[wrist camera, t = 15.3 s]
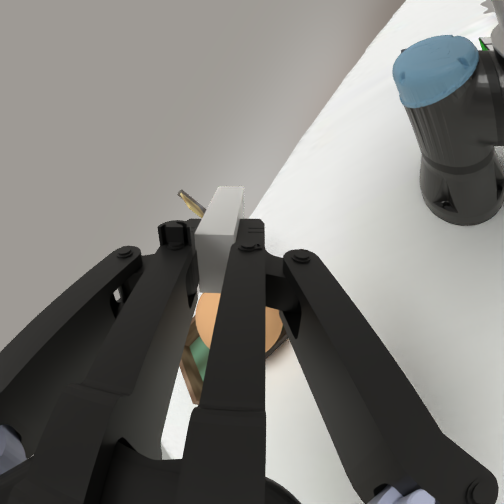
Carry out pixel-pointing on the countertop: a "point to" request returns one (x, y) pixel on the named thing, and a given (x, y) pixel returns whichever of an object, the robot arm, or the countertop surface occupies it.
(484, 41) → the puzzle cube
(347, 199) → the countertop surface
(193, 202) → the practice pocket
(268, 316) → the ball
